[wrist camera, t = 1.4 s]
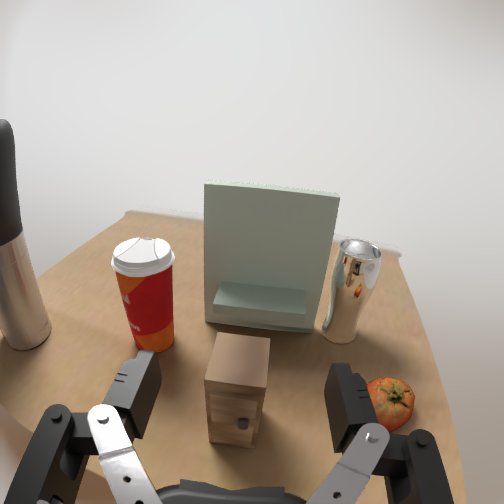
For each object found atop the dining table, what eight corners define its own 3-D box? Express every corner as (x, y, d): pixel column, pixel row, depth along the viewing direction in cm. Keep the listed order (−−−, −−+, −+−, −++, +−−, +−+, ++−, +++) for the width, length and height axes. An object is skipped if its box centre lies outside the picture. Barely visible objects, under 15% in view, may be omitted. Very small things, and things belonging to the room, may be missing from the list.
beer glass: (309, 332, 46) (327, 247, 39) (330, 313, 51) (349, 234, 44) (346, 352, 42) (374, 266, 35) (364, 330, 47) (390, 250, 40)
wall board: (196, 344, 42) (192, 195, 32) (211, 303, 51) (213, 175, 41) (313, 358, 41) (348, 211, 31) (310, 314, 50) (333, 187, 40)
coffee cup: (135, 319, 45) (121, 234, 39) (184, 323, 46) (179, 236, 39) (121, 356, 38) (99, 264, 31) (177, 361, 39) (167, 267, 32)
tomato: (348, 425, 29) (378, 370, 30) (343, 411, 36) (367, 365, 37) (403, 444, 27) (432, 392, 28) (390, 429, 33) (414, 384, 34)
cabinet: (207, 451, 27) (200, 390, 21) (218, 402, 33) (217, 331, 28) (253, 457, 26) (264, 399, 21) (259, 407, 33) (270, 338, 28)
